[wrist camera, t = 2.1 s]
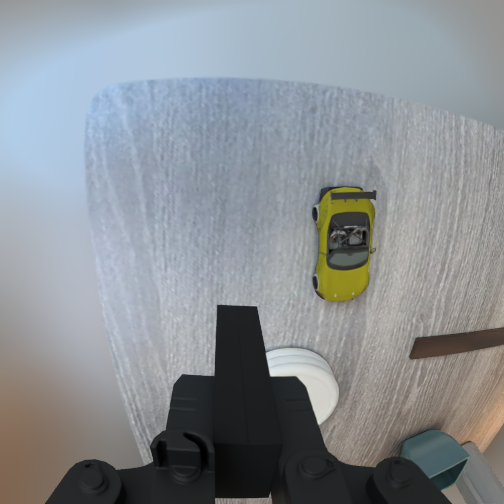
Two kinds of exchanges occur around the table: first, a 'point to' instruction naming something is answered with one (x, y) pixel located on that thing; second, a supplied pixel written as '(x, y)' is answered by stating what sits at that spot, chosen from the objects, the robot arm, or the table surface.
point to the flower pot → (437, 457)
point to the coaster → (307, 377)
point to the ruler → (456, 343)
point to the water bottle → (479, 480)
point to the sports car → (343, 242)
